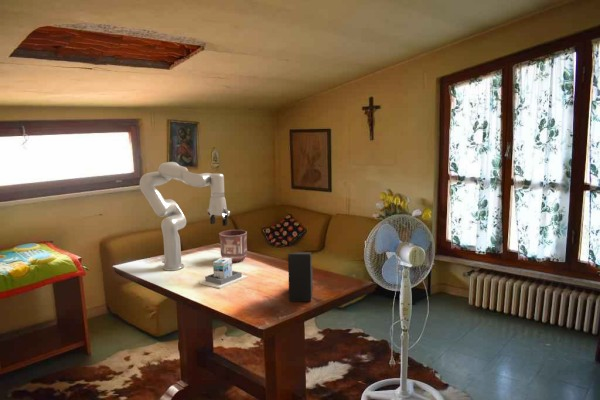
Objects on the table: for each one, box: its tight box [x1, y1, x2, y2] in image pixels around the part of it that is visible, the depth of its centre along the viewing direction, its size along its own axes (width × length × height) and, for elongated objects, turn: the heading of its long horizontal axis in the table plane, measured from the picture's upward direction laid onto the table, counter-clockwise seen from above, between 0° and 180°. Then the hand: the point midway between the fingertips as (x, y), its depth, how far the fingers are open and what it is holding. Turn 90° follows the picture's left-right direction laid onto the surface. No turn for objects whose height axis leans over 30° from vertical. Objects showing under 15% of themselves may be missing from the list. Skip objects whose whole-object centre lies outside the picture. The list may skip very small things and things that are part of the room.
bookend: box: [287, 251, 314, 302], centre depth 225 cm, size 23×11×24 cm, turn 176°
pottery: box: [218, 229, 248, 264], centre depth 287 cm, size 18×18×18 cm
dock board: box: [198, 270, 249, 289], centre depth 248 cm, size 16×22×3 cm
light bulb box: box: [212, 256, 233, 279], centre depth 248 cm, size 11×7×11 cm, turn 165°
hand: (218, 224), depth 260 cm, fingers open, 9 cm apart
